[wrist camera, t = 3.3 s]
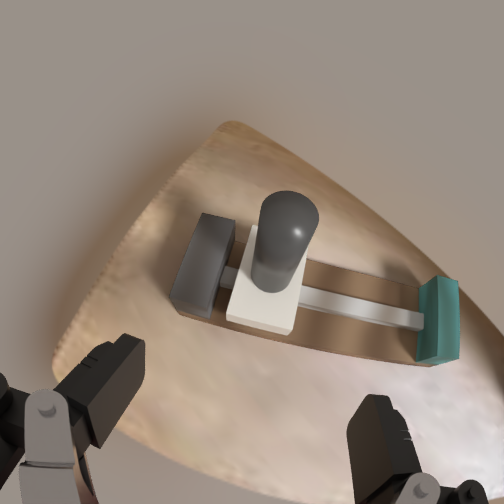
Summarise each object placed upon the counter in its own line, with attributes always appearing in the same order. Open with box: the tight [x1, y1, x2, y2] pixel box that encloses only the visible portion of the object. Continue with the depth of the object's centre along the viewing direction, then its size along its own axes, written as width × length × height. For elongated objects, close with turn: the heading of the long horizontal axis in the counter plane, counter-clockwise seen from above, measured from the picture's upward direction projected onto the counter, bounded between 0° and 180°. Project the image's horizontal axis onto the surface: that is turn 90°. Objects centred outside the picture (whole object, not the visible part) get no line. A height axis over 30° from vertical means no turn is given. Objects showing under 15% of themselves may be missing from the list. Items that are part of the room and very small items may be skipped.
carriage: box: [226, 191, 319, 335], centre depth 20 cm, size 5×8×10 cm, turn 166°
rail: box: [169, 213, 460, 367], centre depth 24 cm, size 26×8×5 cm, turn 76°
